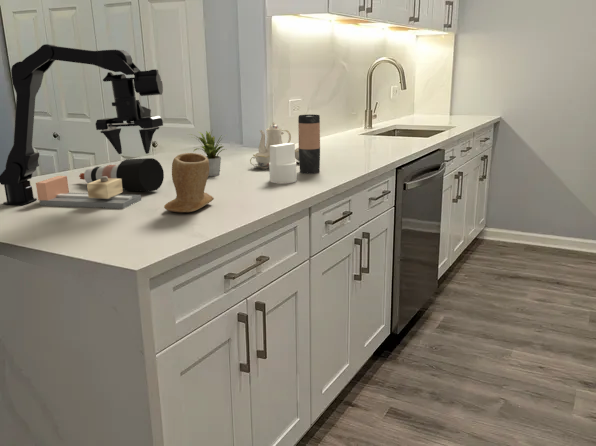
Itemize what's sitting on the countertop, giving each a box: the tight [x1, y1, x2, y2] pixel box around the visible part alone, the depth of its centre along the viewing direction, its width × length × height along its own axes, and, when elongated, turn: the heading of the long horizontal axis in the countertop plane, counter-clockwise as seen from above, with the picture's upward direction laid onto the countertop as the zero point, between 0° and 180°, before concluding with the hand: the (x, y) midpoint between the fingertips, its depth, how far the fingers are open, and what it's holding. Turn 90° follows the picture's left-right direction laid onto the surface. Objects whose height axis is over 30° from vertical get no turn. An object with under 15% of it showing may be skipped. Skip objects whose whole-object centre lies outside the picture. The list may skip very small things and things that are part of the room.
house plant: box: [188, 130, 227, 177], centre depth 191 cm, size 14×14×16 cm
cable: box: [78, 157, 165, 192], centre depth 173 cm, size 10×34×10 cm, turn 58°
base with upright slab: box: [268, 142, 298, 184], centre depth 179 cm, size 9×9×12 cm
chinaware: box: [249, 121, 299, 170], centre depth 209 cm, size 28×17×17 cm, turn 131°
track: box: [35, 175, 142, 209], centre depth 155 cm, size 26×10×6 cm, turn 78°
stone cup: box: [163, 152, 215, 213], centre depth 145 cm, size 15×12×15 cm
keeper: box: [86, 176, 124, 199], centre depth 153 cm, size 6×8×5 cm
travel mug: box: [297, 114, 321, 175], centre depth 192 cm, size 8×8×20 cm
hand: (133, 153), depth 153 cm, fingers open, 9 cm apart
